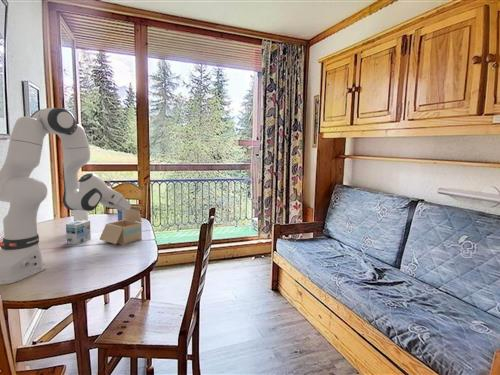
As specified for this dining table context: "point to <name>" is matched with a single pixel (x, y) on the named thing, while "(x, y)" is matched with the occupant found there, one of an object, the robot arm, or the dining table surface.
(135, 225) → the carton
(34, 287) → the dining table surface
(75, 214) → the bottle
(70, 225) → the light bulb box
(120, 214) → the ink cartridge box
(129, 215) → the flap
